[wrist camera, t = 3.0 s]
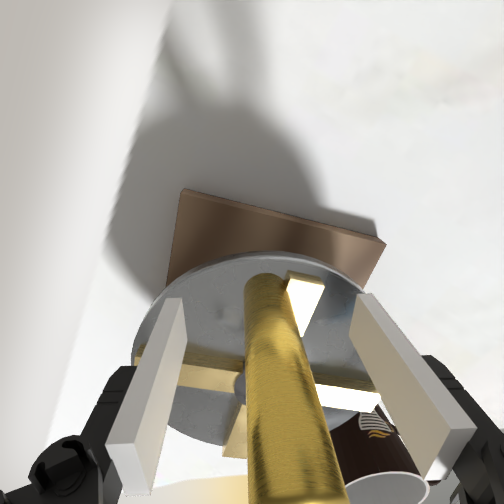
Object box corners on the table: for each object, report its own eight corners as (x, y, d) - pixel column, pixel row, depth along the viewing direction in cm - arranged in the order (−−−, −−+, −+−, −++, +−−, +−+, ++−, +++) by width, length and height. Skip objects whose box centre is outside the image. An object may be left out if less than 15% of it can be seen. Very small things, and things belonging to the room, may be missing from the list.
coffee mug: (291, 400, 33) (310, 507, 24) (340, 358, 30) (384, 460, 21) (356, 431, 36) (395, 535, 27) (406, 396, 33) (469, 498, 24)
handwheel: (427, 283, 18) (686, 503, 8) (326, 440, 25) (386, 661, 15) (152, 219, 15) (-35, 429, 5) (129, 416, 22) (36, 667, 12)
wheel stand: (378, 237, 23) (419, 271, 18) (304, 382, 31) (317, 437, 26) (184, 188, 21) (165, 211, 15) (156, 360, 29) (137, 415, 23)
